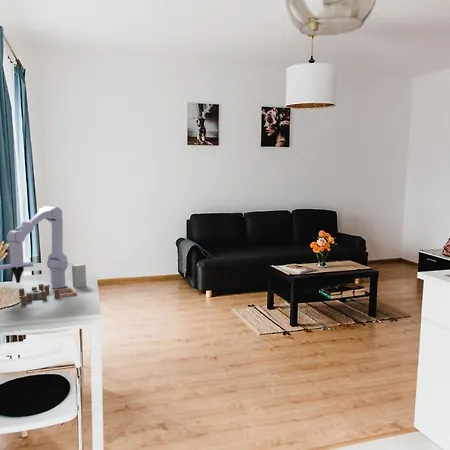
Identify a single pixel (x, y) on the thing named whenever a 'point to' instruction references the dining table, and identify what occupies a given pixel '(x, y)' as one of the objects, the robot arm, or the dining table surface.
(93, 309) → the dining table surface
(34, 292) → the steel nut
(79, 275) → the skincare box
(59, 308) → the dining table surface
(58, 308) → the dining table surface
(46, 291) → the walnut spacers
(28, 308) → the dining table surface
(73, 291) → the parts bay
